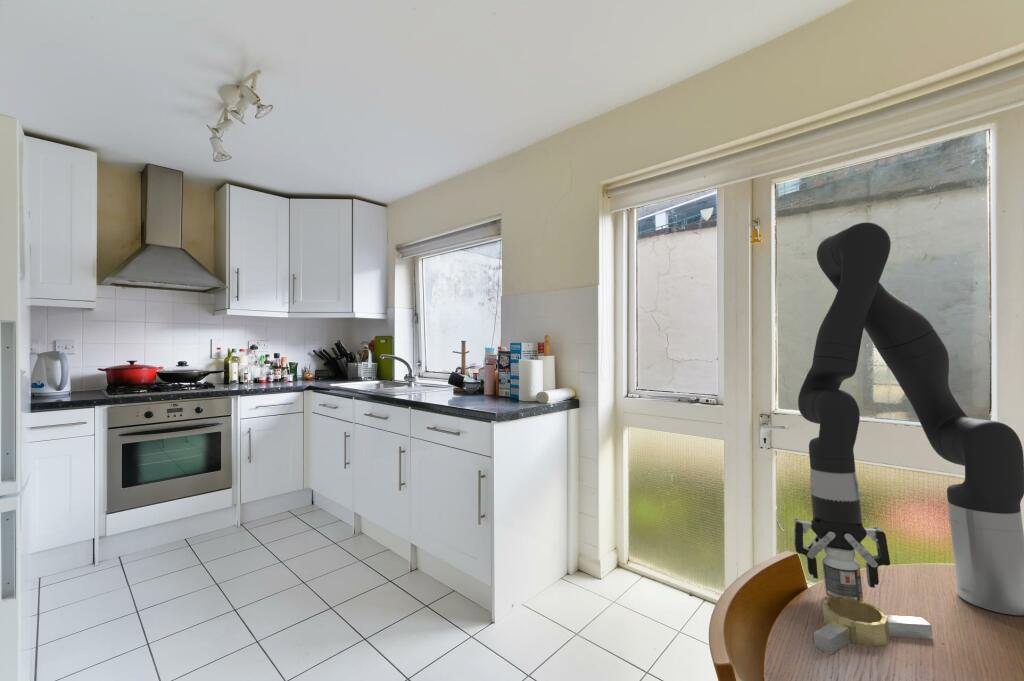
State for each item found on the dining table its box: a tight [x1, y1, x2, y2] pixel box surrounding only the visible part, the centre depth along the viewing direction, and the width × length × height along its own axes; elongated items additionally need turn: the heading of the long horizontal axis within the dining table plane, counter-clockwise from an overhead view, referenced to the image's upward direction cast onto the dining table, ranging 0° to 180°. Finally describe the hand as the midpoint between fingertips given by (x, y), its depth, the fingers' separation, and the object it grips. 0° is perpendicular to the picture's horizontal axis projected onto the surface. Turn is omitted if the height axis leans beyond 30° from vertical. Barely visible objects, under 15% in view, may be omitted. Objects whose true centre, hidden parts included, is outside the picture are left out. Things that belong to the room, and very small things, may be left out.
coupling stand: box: [813, 597, 934, 655], centre depth 73 cm, size 20×9×3 cm, turn 98°
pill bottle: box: [822, 546, 864, 602], centre depth 82 cm, size 6×6×10 cm
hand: (842, 581), depth 82 cm, fingers open, 8 cm apart
